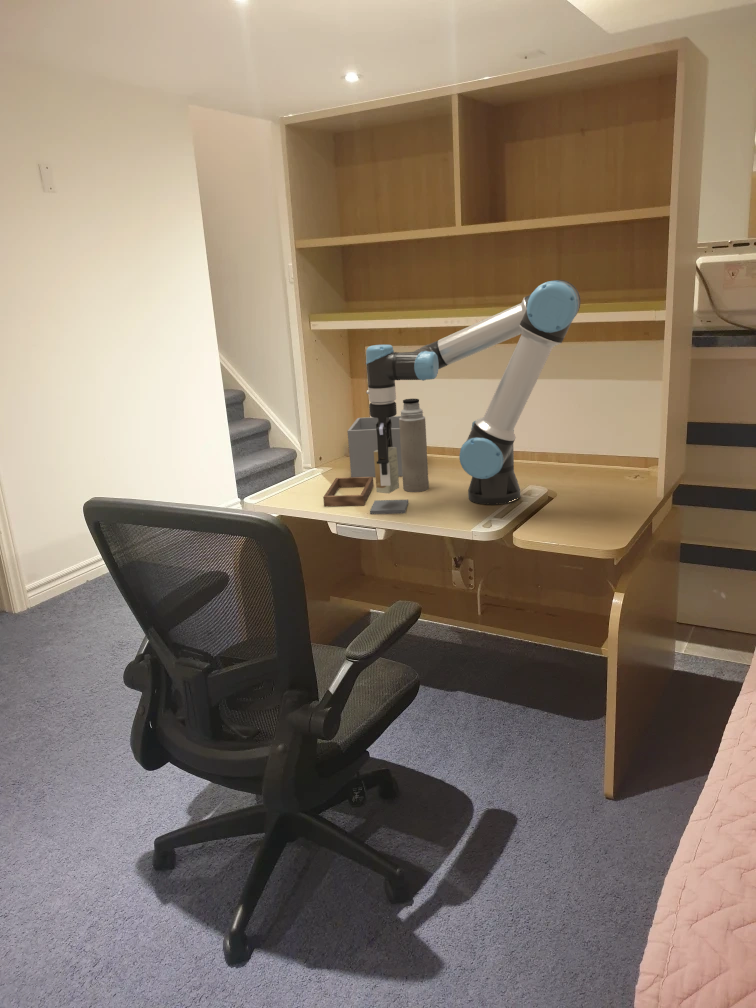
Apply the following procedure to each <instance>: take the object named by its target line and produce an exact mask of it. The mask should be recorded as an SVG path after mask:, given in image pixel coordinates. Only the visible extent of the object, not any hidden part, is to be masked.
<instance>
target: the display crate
mask: <svg viewBox="0 0 756 1008" xmlns="http://www.w3.org/2000/svg"><path fill="white" fill-rule="evenodd" d="M389 418H391V422H392V426H391V430H392V446H393V447H396V448H397V462H398V477H403V476H402V460H401V444H400V428H399V418H401V415H395V416H393V417H389ZM377 422H378V418H373V417H371V416H369V417H357V418H356V419H355V420H354V421H353V423H352V425H351V426H350V427H349V428H348V430H347V441H348V442H347V443H348V454H349V466H350V467H349V468H350V477H373V478H376V477H375V463H374V451H376V450H378V443H377V431H376V424H377Z"/></svg>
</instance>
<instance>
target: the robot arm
mask: <svg viewBox="0 0 756 1008" xmlns="http://www.w3.org/2000/svg"><path fill="white" fill-rule="evenodd" d="M580 306H581V296H580V292H579V291H578V289H577V287H576V286H575V285H574V284H573V283H571V282H570V281H567V280H564V279H554V280H550V281H546V282H543V283H541V284H540V285H538V286H537V287H536V288H535V289H534V290H533V292H532V291H531V294H528V295H526V296H524V297H523V299H522V301H521V303H518V304H516V305H513V306H512V307H508V308H507V309H504V310H502V311H501V312H498V313H496V314H494V315H491V316H489V317H487V318H485V319H482V320H481V321H478V322H476V323H473V324H471V325H469V326H467V327H465V328H462V329H460V330H458V331H456V332H454V333H451V334H449V335H447V336H445V337H442V338H440V339H439V340H436V341H434V342H431V343H428V344H426V345H424V346H421V347H420V348H418V349H416V350H413V351H402V352H401V351H400V352H397V351H395V350H394V346H393V345H391V344H375V345H374V344H373V345H370V346H368V347H367V348H366V351H365V357H366V359H365V365H366V366H365V367H366V376H367V387H368V388H367V389H368V390H366V394H367V395H368V401H369V404H368V408H369V409H368V410H369V415H370V416H369V417H373V418H378V422H377V424H376V431H377V443H378V461H377V464H379V465H380V480H381V486H390V485H391V482H390V465H389V460H388V447H393V446H392V430H391V426H392V422H391V418H389V417H393V416H397V414H398V413H397V411H398V410H397V402H395V401H396V399H397V392H396V381H426V380H427V381H428V380H435V379H436V378H437V376H438V374H439V370H440V369H443V368H445V367H448V366H449V365H452V364H455V363H456V362H458V361H461V360H463V359H466V358H468V357H470V356H473V355H475V354H478V353H480V352H482V351H485V350H487V349H489V348H491V347H495V346H496V345H498V344H501V343H503V342H505V341H508V340H510V339H512V338H515V337H517V336H520V337H519V339H518V341H517V343H516V346H515V347H514V348H515V349H514V350H513V352H512V355H511V356H510V359H509V361H508V364H507V365H506V368H505V369H504V372H503V374H502V376H501V379H500V380H499V382H498V385H497V387H496V389H495V391H494V394H493V396H492V398H491V400H490V402H489V405H488V407H487V409H486V412H485V413H484V415H483V417H480V418H477V419H475V420H473V422H472V424H471V427H470V432H469V434H468V436H467V438H466V441H465V442H464V443H463V444H462V445H461V447H460V450H459V455H458V456H459V457H458V458H459V463H460V465H461V468H462V469H463V471H465V473H466V474H467V475H469V476H470V477H471V480H470V483H469V485H468V490H467V491H468V492H467V493H468V494H467V495H468V496H467V498H468V500H469V501H471V502H473V503H476V504H480V505H504V504H505V505H506V504H509V503H508V502H509V501H512V500H514V499H517V498H519V497H520V498H521V487H520V484H519V481H518V479H517V477H516V473H515V461H514V459H515V455H514V442H515V441H516V438H517V437H516V435H515V428H516V425H517V423H518V421H519V419H520V416H521V415H522V413H523V410H524V408H525V407H526V405H527V402H528V400H529V398H530V396H531V394H532V392H533V390H534V388H535V386H536V384H537V381H538V380H539V378H540V375H541V373H542V371H543V369H544V367H545V365H546V363H547V361H548V358H549V356H550V354H551V352H552V350H553V348H554V347H556V346H560V345H561V344H563V341H564V339H565V337H566V336H567V333H568V331H569V328H570V327H571V324H572V322H573V321H574V319H575V318H576V316H577V315H578V313H579V311H580ZM381 458H385V459H381ZM520 498H519V499H520Z"/></svg>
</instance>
